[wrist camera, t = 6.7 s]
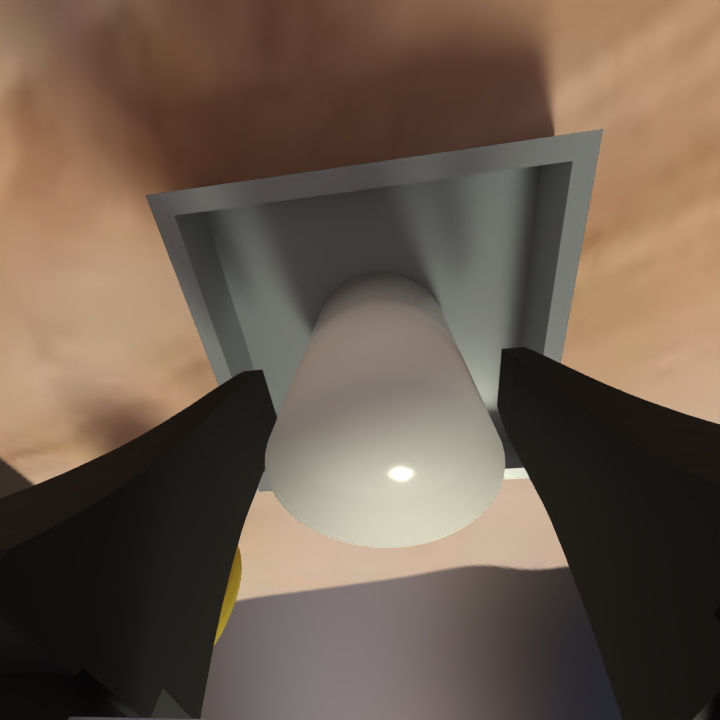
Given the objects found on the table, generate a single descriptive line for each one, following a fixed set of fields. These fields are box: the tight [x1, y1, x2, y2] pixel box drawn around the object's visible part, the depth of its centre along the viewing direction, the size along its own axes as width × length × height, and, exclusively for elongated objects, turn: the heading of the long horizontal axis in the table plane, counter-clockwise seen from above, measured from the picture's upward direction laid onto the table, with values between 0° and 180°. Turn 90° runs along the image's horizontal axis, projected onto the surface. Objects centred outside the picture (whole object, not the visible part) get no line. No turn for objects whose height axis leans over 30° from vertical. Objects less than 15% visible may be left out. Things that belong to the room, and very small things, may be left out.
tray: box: [146, 129, 603, 492], centre depth 13 cm, size 12×12×2 cm
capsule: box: [265, 272, 505, 548], centre depth 10 cm, size 5×5×7 cm
